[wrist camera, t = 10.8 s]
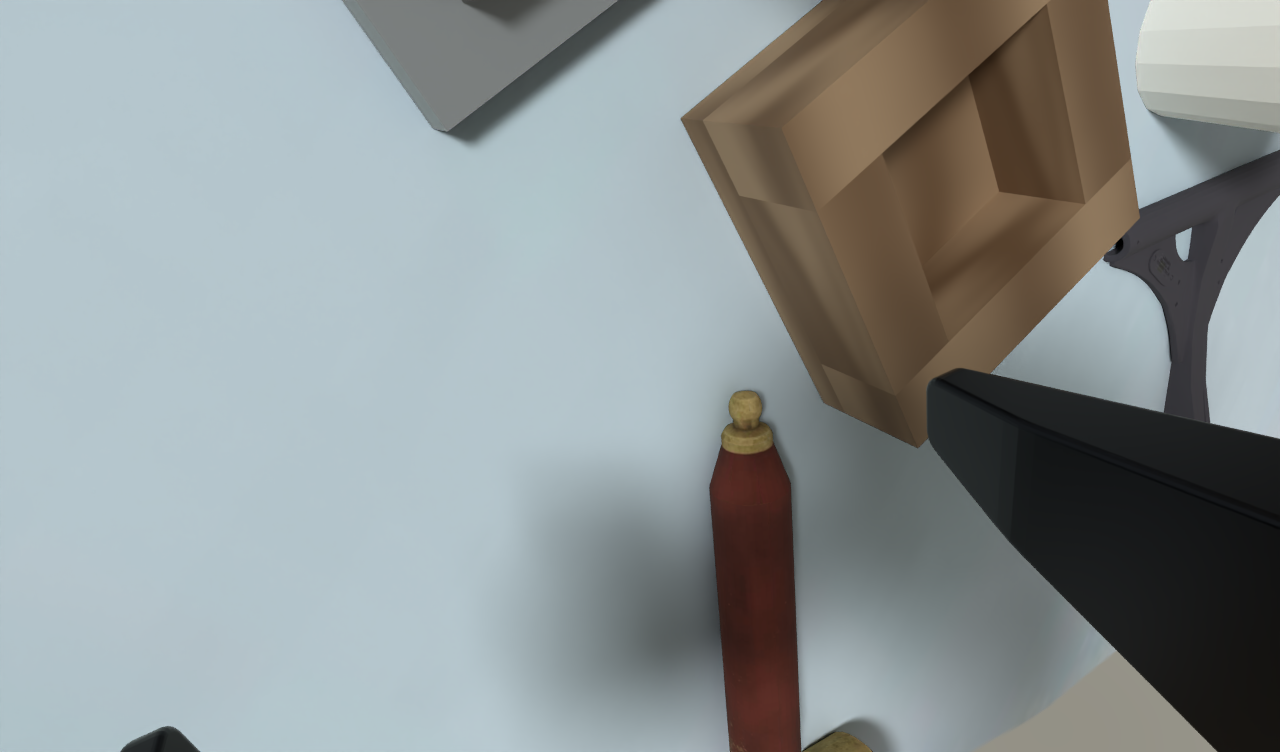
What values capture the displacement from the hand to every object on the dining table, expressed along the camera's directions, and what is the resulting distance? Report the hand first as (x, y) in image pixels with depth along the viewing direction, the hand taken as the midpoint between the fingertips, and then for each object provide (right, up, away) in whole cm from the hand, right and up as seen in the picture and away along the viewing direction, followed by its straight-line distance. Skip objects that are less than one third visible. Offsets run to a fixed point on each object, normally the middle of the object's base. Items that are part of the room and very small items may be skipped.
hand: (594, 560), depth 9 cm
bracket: (+26, +4, +30) cm, 40 cm away
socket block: (+8, +9, +16) cm, 20 cm away
